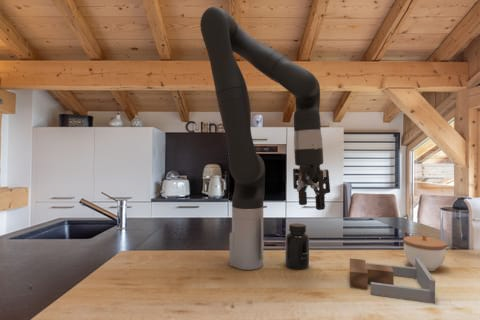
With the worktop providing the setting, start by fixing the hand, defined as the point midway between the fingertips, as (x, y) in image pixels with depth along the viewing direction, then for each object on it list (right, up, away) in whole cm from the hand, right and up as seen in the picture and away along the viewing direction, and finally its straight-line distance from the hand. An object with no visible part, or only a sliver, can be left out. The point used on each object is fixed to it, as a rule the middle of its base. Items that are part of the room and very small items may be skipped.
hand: (311, 207), depth 84 cm
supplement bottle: (-3, -18, +7) cm, 20 cm away
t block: (+14, -19, -5) cm, 24 cm away
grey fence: (+20, -19, -7) cm, 28 cm away
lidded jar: (+34, -19, +6) cm, 39 cm away
